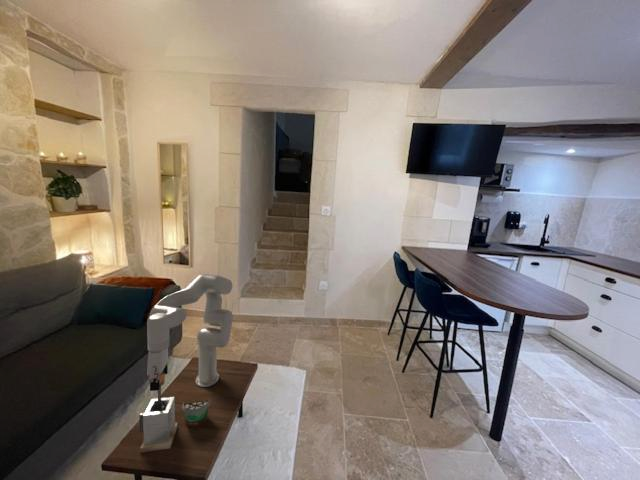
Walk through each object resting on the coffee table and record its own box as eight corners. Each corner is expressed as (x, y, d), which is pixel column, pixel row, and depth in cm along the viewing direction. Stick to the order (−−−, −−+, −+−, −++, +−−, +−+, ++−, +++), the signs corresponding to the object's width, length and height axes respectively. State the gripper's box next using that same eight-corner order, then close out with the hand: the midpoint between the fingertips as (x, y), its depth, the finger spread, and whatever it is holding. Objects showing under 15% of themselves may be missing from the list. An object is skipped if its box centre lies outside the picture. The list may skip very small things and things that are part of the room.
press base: (150, 429, 117) (150, 425, 117) (177, 426, 120) (177, 422, 119) (140, 452, 106) (140, 448, 106) (170, 448, 109) (170, 444, 109)
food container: (179, 432, 117) (179, 412, 115) (182, 420, 123) (182, 401, 121) (208, 427, 120) (209, 408, 119) (210, 416, 126) (210, 398, 124)
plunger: (155, 412, 113) (154, 371, 110) (168, 411, 114) (168, 370, 112) (150, 422, 108) (149, 379, 105) (164, 421, 110) (163, 378, 107)
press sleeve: (145, 427, 115) (144, 399, 113) (174, 424, 118) (174, 396, 116) (135, 446, 107) (135, 416, 104) (168, 442, 109) (167, 413, 107)
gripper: (156, 333, 114) (156, 369, 116) (139, 357, 97) (140, 398, 100) (175, 332, 116) (175, 367, 118) (161, 355, 99) (162, 396, 102)
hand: (159, 381), depth 109 cm, fingers open, 9 cm apart
